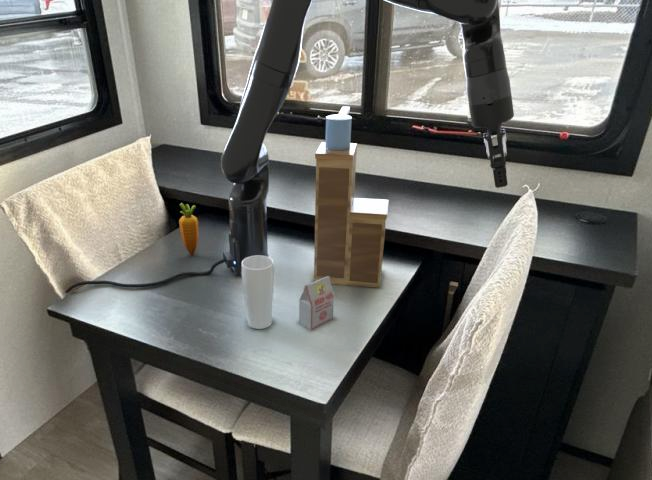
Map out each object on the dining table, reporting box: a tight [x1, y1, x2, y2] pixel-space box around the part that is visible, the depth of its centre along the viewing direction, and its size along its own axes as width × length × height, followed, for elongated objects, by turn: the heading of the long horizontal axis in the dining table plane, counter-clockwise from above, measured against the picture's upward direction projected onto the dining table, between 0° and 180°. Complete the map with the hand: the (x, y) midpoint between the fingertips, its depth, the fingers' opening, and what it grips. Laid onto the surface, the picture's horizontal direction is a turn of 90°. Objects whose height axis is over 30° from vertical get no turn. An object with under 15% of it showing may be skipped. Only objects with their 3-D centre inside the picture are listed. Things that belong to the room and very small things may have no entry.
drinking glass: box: [241, 255, 275, 330], centre depth 116 cm, size 7×7×15 cm
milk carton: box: [298, 276, 335, 331], centre depth 118 cm, size 4×7×10 cm, turn 129°
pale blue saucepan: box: [324, 106, 353, 150], centre depth 127 cm, size 18×6×7 cm, turn 167°
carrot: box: [178, 202, 199, 257], centre depth 146 cm, size 5×5×15 cm
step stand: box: [313, 141, 390, 289], centre depth 130 cm, size 10×16×32 cm, turn 77°
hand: (501, 180), depth 109 cm, fingers open, 8 cm apart
